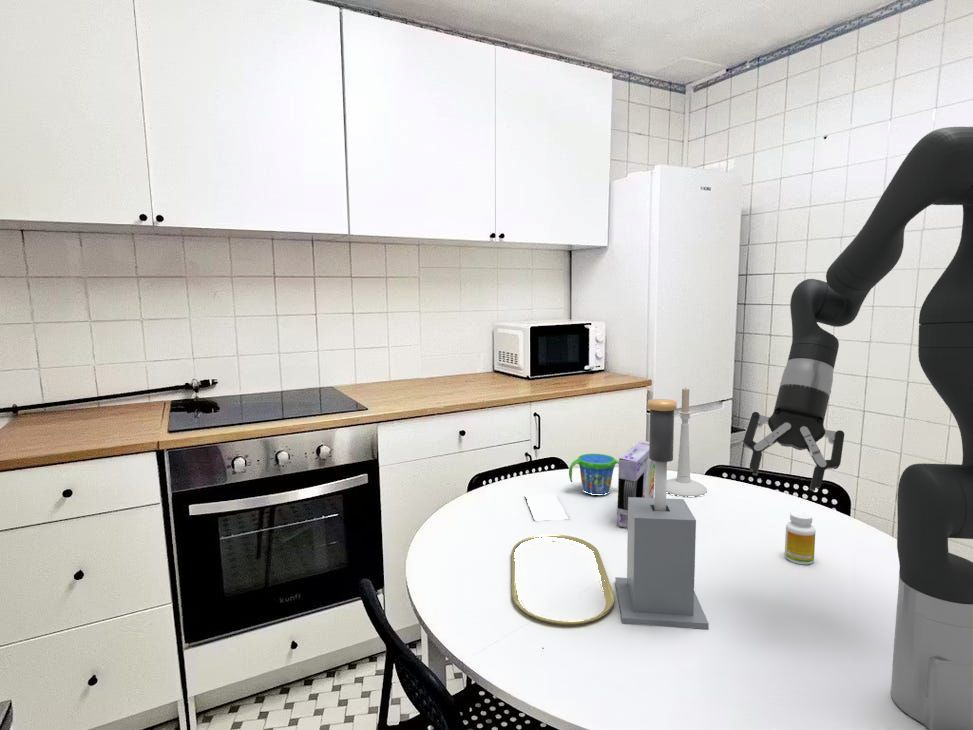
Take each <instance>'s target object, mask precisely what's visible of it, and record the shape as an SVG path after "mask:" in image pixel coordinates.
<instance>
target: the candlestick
mask: <svg viewBox="0 0 973 730" xmlns="http://www.w3.org/2000/svg"><path fill="white" fill-rule="evenodd" d="M678 413H679V418H680V419H681V423H680V437H679V450H678V461H677V463H678V464H677V474H676V475H677V476H676V478H671V479H667V485H666V492H668V493H671V494H674V495H679V496H700V495H704V494H705V493H707V494H708V488H707V487H706V486H705V485H704V484H702V483H700V482H699V481H696V480H694V479H691V467H690V461H691V460H690V434H689V433H690V431H689V429H690V428H689V426H690V425H689V420H690V418H691V414H692V411H690V388H687V387H685V388H681V410H679V411H678ZM704 496H705V495H704ZM700 497H701V496H700Z"/></svg>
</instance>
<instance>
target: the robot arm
mask: <svg viewBox="0 0 973 730" xmlns="http://www.w3.org/2000/svg"><path fill="white" fill-rule="evenodd" d="M932 205H934V206H962V227H961V233H960V240H959V243H958V247H957V250H956V252H955V254H954V256H953V258H952V259H951V260H950V261H949V263H948V265H947V267H946V268H945V270H944V271H943V272H942V273H941V275H940V277H939V278H938V279H937V281H936V282H935V284H934V285H933V287H932V288H931V289H930V291H929V292H928V294H927V296H926V298H925V299H924V301H923V303H922V305H921V307H920V311H919V317H918V342H917V343H918V346H917V347H918V348H917V350H918V353H917V355H918V362H919V365H920V368H921V369H922V371H923V373H924V375H925V376H926V378H927V379H928V381H929V383H930V384H931V386H932V387H933V389H934V390H935V392H936V393H937V394H938V395H939V397H940V398H941V399H942V400H943V402H944V404H946V407H947V408H948V410H949V411H950V412H951V413H952V414H951V415H953V417H954V420H955V421H956V423H957V426H958V429H959V430H958V431H959V432H960V437H961V438H960V439H961V446H962V462H961V464H956V463H955V464H954V463H952V464H951V463H925V462H923V463H913V464H910V465H908V466H907V467H906V468H905V469H904V470H903V471H902V473H901V474H900V475H901V476H900V478H899V482H898V488H897V499H896V500H897V503H896V505H897V530H896V531H897V532H896V534H897V536H896V549H897V557H898V562H899V569H898V570H899V572H898V573H899V574H898V587H897V588H898V589H897V590H898V591H897V599H896V600H897V602H896V614H895V627H894V642H893V653H892V669H891V670H892V671H891V683H890V684H891V685H890V696H891V697H890V698H892V700H893V702H894V703H895V705H896V706H897V707H898V708H899V709H900V710H901V711H903V712H904V713H905V714H906V715H908V716H909V717H911V718H912V719H914V720H916V721H917V722H919V723H921V724H922V725H923V726H925V728H927V730H973V561H971V560H969V559H967V558H964V557H962V556H959V555H956V554H954V553H951V552H949V539H960V540H962V539H963V540H964V539H965V540H973V126H949V127H942V128H941V127H940V128H938V129H934V130H932V131H930V132H928V133H927V134H925V135H924V136H923V137H921V138H920V140H919V141H918V142H917V143H916V144H915V145H914V146H913V147H912V148H911V150H910V151H909V152H908V154H907V155H906V157H905V158H904V160H903V161H902V162H901V164H900V165H899V167H898V168H897V169H896V172H895V173H894V175H893V177H892V179H891V180H890V182H889V183H888V185H887V187H886V188H885V190H884V191H883V193H882V195H881V196H880V198H879V200H878V202H877V203H876V205H875V207H874V209H873V210H872V212H871V213H870V215H869V217H868V218H867V220H866V222H865V224H864V225H863V227H862V228H861V229H860V231H859V232H858V233H857V234H856V236H855V237H854V238H853V240H852V241H851V242H850V243H849V244H848V245H847V246H846V247H845V249H844V250H843V251H842V252H841V253H840V254H839V255H838V256H837V258H835V260H834V261H833V262H832V263H831V264H830V266H829V267H828V268H827V271H826V274H825V279H826V281H825V280H824V281H823V280H820V279H816V278H807V279H805V280H801V282H800V283H798V284H797V285H796V286H795V288H794V289H793V291H792V294H791V296H790V301H789V302H790V303H789V304H790V319H791V329H792V331H791V333H792V334H791V335H792V339H791V344H790V345H791V346H790V350H789V354H788V358H787V361H786V365H785V367H784V370H783V372H782V375H781V380H780V382H779V388H778V391H777V392H778V393H777V397H776V399H775V400H776V401H775V404H774V409H773V412H772V414H771V415H770V416H767V415H762V414H760V413H759V412H757V411H754V412H752V414H751V416H750V419H749V422H748V424H747V425H748V426H747V428H746V431H745V435H744V438H743V445H744V446H745V447H746V448H748V449H750V450H751V451H752V454H751V459H750V463H749V470H750V471H752V475H753V476H758V473H759V469H760V465H761V463H762V462H761V461H762V458H763V453H764V451H765V450H767V449H768V448H770V447H772V446H774V445H775V444H776V443H777V444H779V445H780V446H781V447H786V448H787V447H788V448H789V447H790V448H793V449H794V450H796V451H797V450H798V451H803V450H806V451H807V452H808V454H809V456H810V457H811V458H812V460H813V463H815V466H814V469H813V473H812V477H811V483H810V485H809V491H812V492H815V491H816V489H819V490H820V488H821V487H822V483H823V479H824V476H825V471H826V470H830V469H831V470H837V469H839V467H840V466H841V462H842V455H843V454H842V453H843V447H844V441H845V432H844V431H843V430H840V429H839V430H836V431H835V430H831V429H826V428H825V427H824V426H825V425H824V423H825V420H826V419H825V418H826V413H827V409H828V405H829V400H830V396H831V393H832V387H833V382H834V381H833V380H834V370H835V364H836V361H837V356H838V352H839V349H840V348H839V346H840V343H839V342H840V341H839V339H838V338H837V337H836V336H835V335H834V334H832V333H830V332H829V331H827V330H825V329H823V328H822V327H821V326H820V325H819V324H823V325H827V326H830V327H834V328H835V327H836V328H839V327H845V326H848V325H849V324H851V323H853V321H854V320H855V319H856V318H857V316H858V314H859V312H860V310H861V307H862V305H863V303H864V302H865V300H866V298H867V296H868V295H869V293H870V291H871V290H872V289H873V288H874V287H875V286H876V285H877V284H878V283H879V282H881V280H883V279H884V278H885V277H886V276H887V275H888V274H889V273H890V272H891V271H892V270H893V269H894V268H895V267H896V265H897V263H898V262H899V260H900V258H901V257H902V254H903V250H904V244H905V242H904V241H905V228H906V227H907V225H908V224H909V222H910V221H911V220H912V219H914V218H915V217H916V216H918V214H920V213H921V212H922V211H924V210H925V209H927V208H928V207H930V206H932ZM818 323H819V324H818ZM766 424H767V425H768V427H769V429H770V431H771V432H770V433H769V434H767V435H766V436H765V437H764V438H762V439H761V440H760V441H759V442H755V441H754V438H755V435H756V432H757V429H758V428H762V427H763V425H766ZM824 437H826V438H827V443H828V444H829V445H832V450H831V454H830V455H831V456H830V459H825V457H824V456H823V454H822V452H821V450H820V447H819V446H818V444H817V442H818V441H820V440H821V439H823V438H824ZM762 452H763V453H762Z"/></svg>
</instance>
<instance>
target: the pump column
mask: <svg viewBox="0 0 973 730" xmlns="http://www.w3.org/2000/svg"><path fill="white" fill-rule="evenodd" d="M696 531H697V520H696V518H695V516H694V515H693V513H692V511H691V509H690V508H689V506H688V504H687V502H686V501H685V499H684V498H667V497H666V511H654V498H637V497H628V529H627V544H626V545H627V547H626V548H627V551H626V552H627V553H626V554H627V557H626V563H627V564H626V566H627V567H626V577H621V576H620V577H617V576H616V577H615V578H614V579H615V581H614V582H616V583H615V587H616V588H617V589H616V594H617V595H616V596H617V600H618V605H619V611H620V615H621V616H620V617H621V622H622V624H626V625H627V624H628V625H643V626H658V627H670V628H671V627H672V628H688V629H701V630H702V629H703V630H709V625H710V623H709V621H708V619H707V616H706V614H705V612H704V610H703V608H702V605H701V603H700V601H699V599H698V596H697V594H696V591H695V577H696V576H695V575H696V574H695V571H696V569H695V568H696V565H695V564H696V562H695V561H696V539H697V538H696V537H697V536H696Z"/></svg>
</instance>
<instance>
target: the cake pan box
mask: <svg viewBox="0 0 973 730" xmlns="http://www.w3.org/2000/svg"><path fill="white" fill-rule="evenodd" d="M618 461H619V464H618V480H617V481H618V482H617V486H618V487H617V505H616V506H617V508H616V511H617V512H616V527H617V526H621V527H620V528H622V527H624V528H623V529H626V528H628V497H637V498H654V492H655V461H653V460H651V459H649V441H646V440H640V441H638V442H637V443H636V444H635V445H634V446H631V447H630V448H629V449H628V450H627V451H626V453H624V454H622V455H621V456H620V457H619V459H618Z"/></svg>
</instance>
